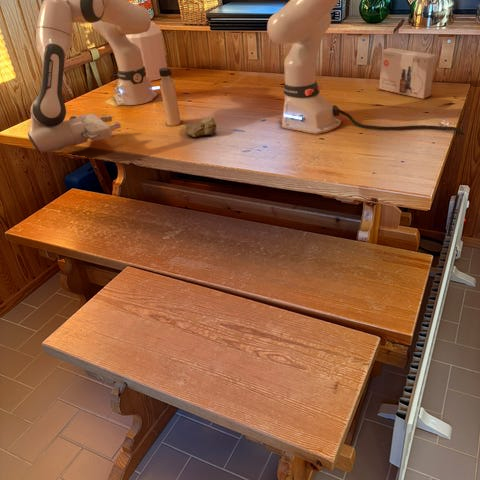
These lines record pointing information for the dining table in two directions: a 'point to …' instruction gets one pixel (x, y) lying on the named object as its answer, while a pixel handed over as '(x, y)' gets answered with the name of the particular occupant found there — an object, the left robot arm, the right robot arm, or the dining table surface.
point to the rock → (202, 127)
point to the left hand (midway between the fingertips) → (115, 121)
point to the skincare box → (407, 72)
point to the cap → (165, 72)
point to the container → (151, 50)
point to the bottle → (170, 101)
